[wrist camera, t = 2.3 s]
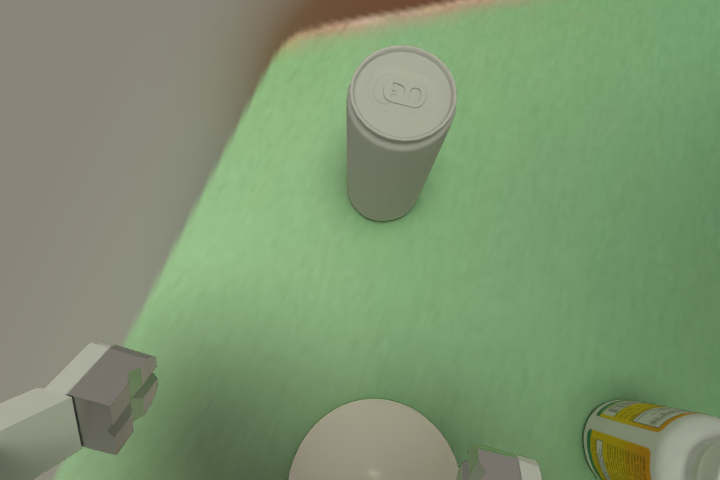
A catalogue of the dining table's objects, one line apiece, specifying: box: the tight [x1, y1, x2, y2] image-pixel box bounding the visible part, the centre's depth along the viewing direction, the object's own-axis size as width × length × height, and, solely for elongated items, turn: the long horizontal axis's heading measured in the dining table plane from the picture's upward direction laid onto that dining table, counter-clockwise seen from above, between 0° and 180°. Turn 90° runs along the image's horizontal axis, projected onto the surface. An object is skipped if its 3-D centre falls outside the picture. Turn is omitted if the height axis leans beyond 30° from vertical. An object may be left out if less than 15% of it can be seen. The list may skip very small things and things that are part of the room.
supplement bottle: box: [583, 400, 720, 480], centre depth 22 cm, size 5×5×10 cm
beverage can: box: [347, 45, 457, 221], centre depth 25 cm, size 5×5×12 cm
